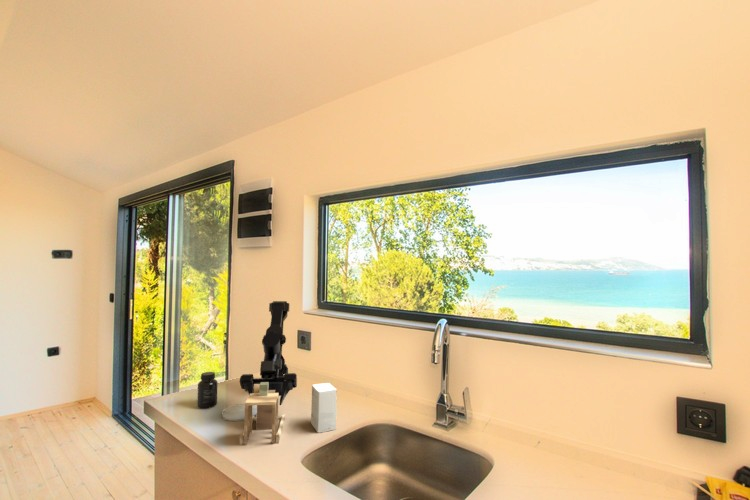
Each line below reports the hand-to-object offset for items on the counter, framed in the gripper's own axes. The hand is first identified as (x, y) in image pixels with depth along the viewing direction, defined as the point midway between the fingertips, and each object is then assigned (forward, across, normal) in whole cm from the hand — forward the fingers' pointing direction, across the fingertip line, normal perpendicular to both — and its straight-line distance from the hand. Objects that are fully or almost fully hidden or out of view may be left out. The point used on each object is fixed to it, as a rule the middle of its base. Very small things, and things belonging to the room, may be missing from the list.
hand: (265, 405), depth 121 cm
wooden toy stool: (+10, 0, 0) cm, 10 cm away
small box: (+6, +19, +4) cm, 20 cm away
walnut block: (+4, 0, +6) cm, 7 cm away
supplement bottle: (-9, -24, +20) cm, 33 cm away
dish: (-3, -10, +13) cm, 17 cm away
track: (+7, 0, +4) cm, 7 cm away
